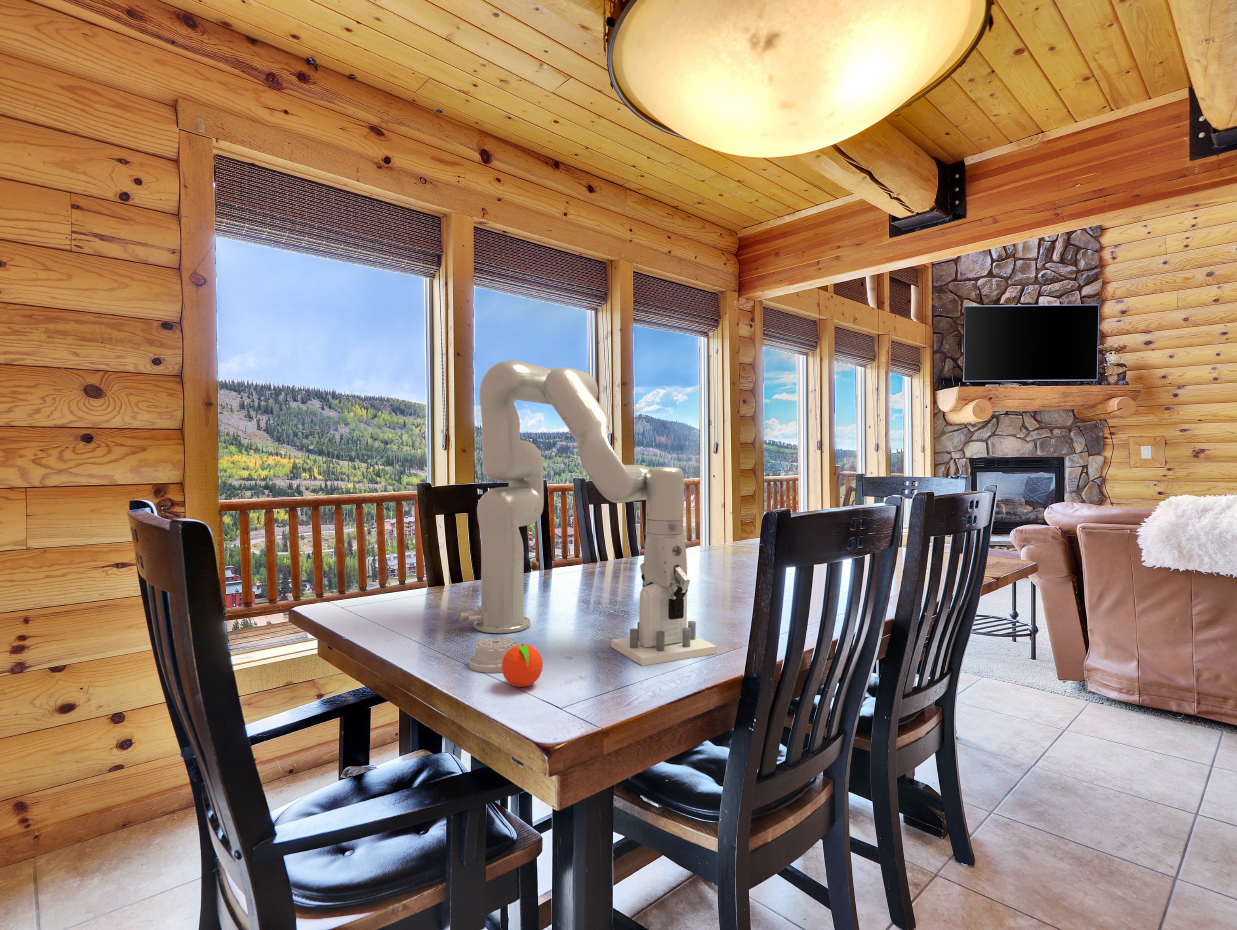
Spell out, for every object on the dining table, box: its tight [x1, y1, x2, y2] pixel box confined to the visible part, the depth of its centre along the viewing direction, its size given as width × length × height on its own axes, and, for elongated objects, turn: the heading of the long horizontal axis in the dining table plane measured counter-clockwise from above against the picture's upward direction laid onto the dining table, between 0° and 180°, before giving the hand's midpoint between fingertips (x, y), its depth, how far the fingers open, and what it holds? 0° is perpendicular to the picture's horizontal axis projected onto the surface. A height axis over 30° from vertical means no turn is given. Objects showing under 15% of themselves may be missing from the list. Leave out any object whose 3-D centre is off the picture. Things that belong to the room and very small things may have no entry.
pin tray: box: [610, 620, 718, 667], centre depth 130 cm, size 17×13×5 cm
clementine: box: [501, 643, 544, 688], centre depth 110 cm, size 8×7×7 cm
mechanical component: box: [468, 637, 517, 674], centre depth 121 cm, size 10×4×10 cm
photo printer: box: [638, 583, 688, 647], centre depth 130 cm, size 10×4×12 cm, turn 121°
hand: (662, 612), depth 130 cm, fingers open, 9 cm apart
